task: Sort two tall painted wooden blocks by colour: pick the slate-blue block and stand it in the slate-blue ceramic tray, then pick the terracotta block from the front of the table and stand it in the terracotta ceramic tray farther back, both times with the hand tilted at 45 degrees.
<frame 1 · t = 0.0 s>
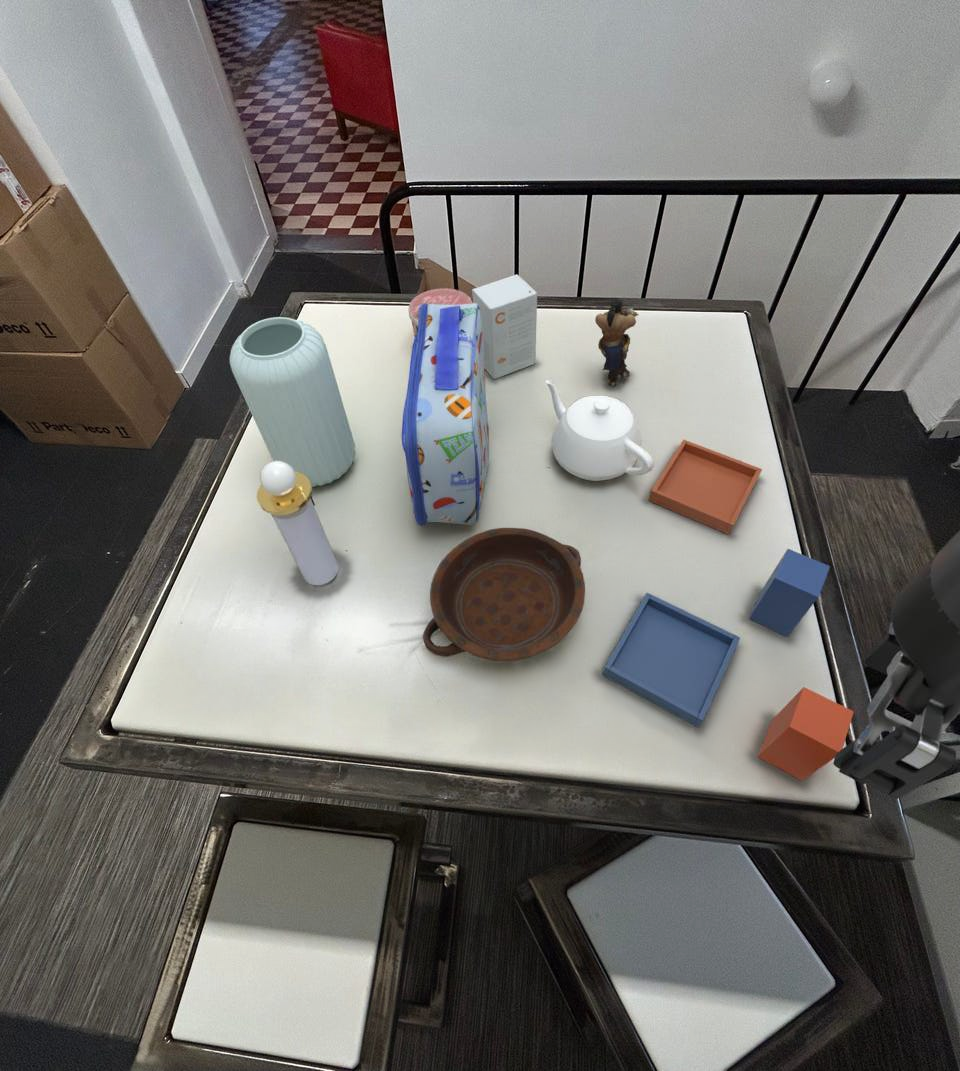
hand: (865, 715, 43), 22 cm above the table, tool pointing down, fingers open, 8 cm apart
small box: (505, 362, 102), on the table
vase: (320, 466, 90), on the table
figurine: (608, 382, 98), on the table
terracotta tray: (703, 489, 84), on the table
perfume bottle: (322, 574, 79), on the table
terracotta block: (786, 749, 63), on the table
lunch box: (453, 467, 89), on the table
container: (445, 348, 105), on the table
dish: (507, 610, 74), on the table
teapot: (591, 456, 89), on the table
blue block: (773, 613, 72), on the table
blue tray: (669, 660, 69), on the table
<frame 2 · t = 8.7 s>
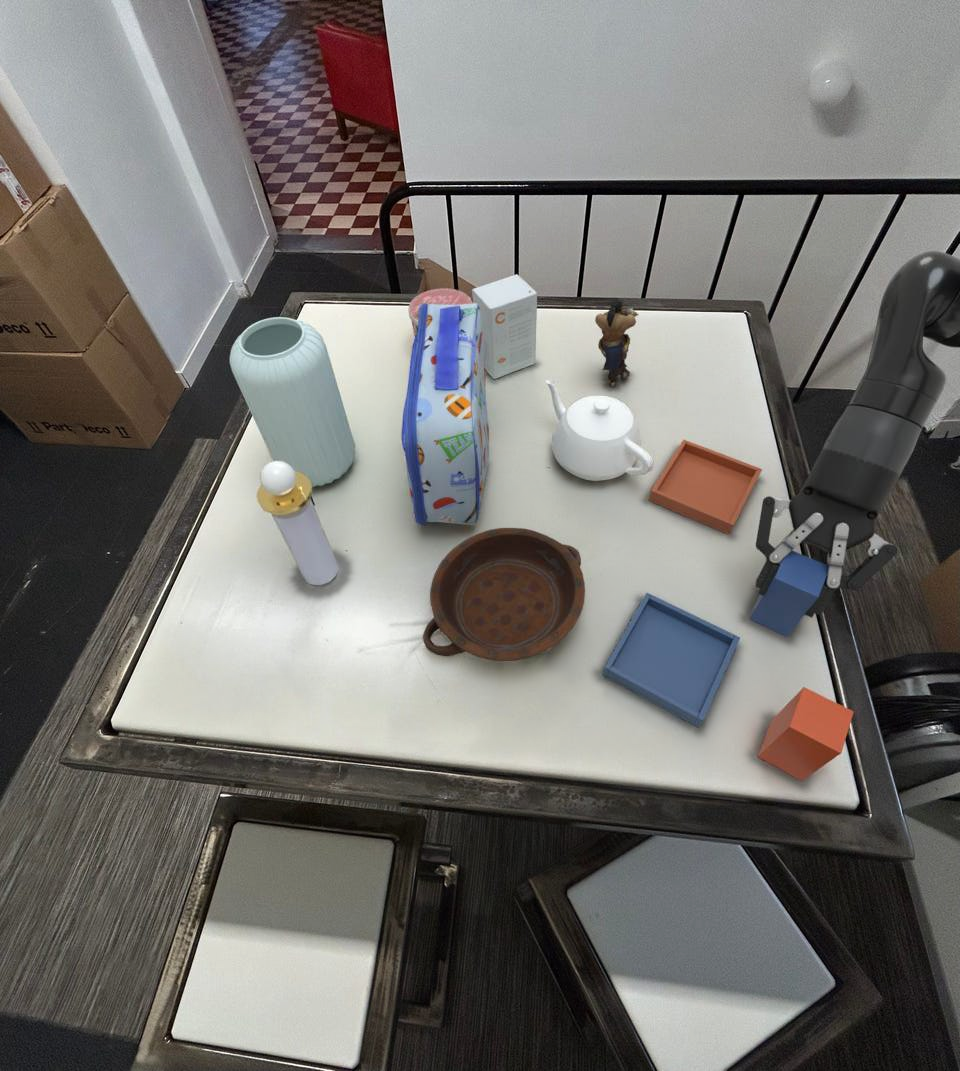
hand: (784, 603, 67), 5 cm above the table, tool tilted 45°, fingers closed on blue block, 4 cm apart
blue block: (773, 613, 72), on the table, touching gripper
everything else where it was.
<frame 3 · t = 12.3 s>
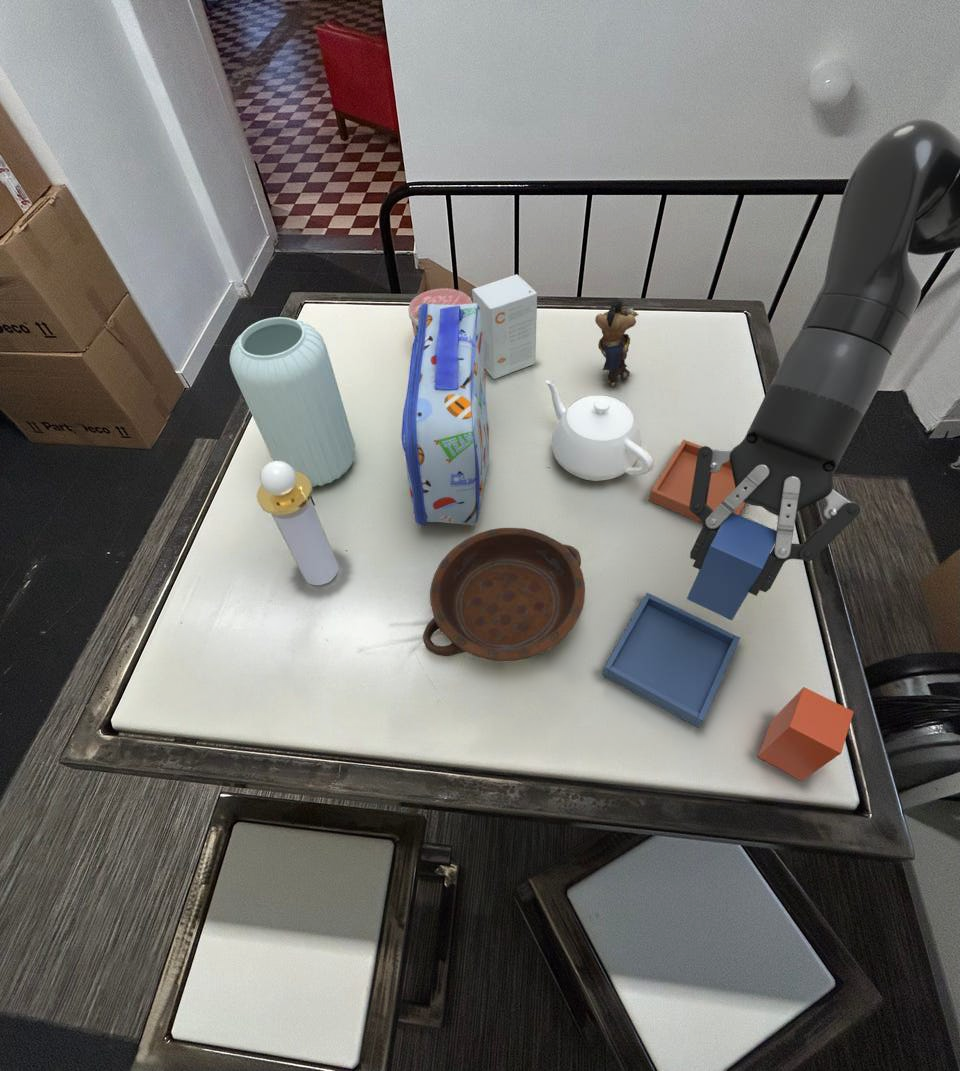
hand: (725, 579, 55), 18 cm above the table, tool tilted 45°, fingers closed on blue block, 4 cm apart
blue block: (717, 592, 60), point 13 cm above the table, touching gripper
everything else where it was.
when the fingers open (6 cm above the table, at t = 16.2 s): blue block stays where it is, resting on blue tray.
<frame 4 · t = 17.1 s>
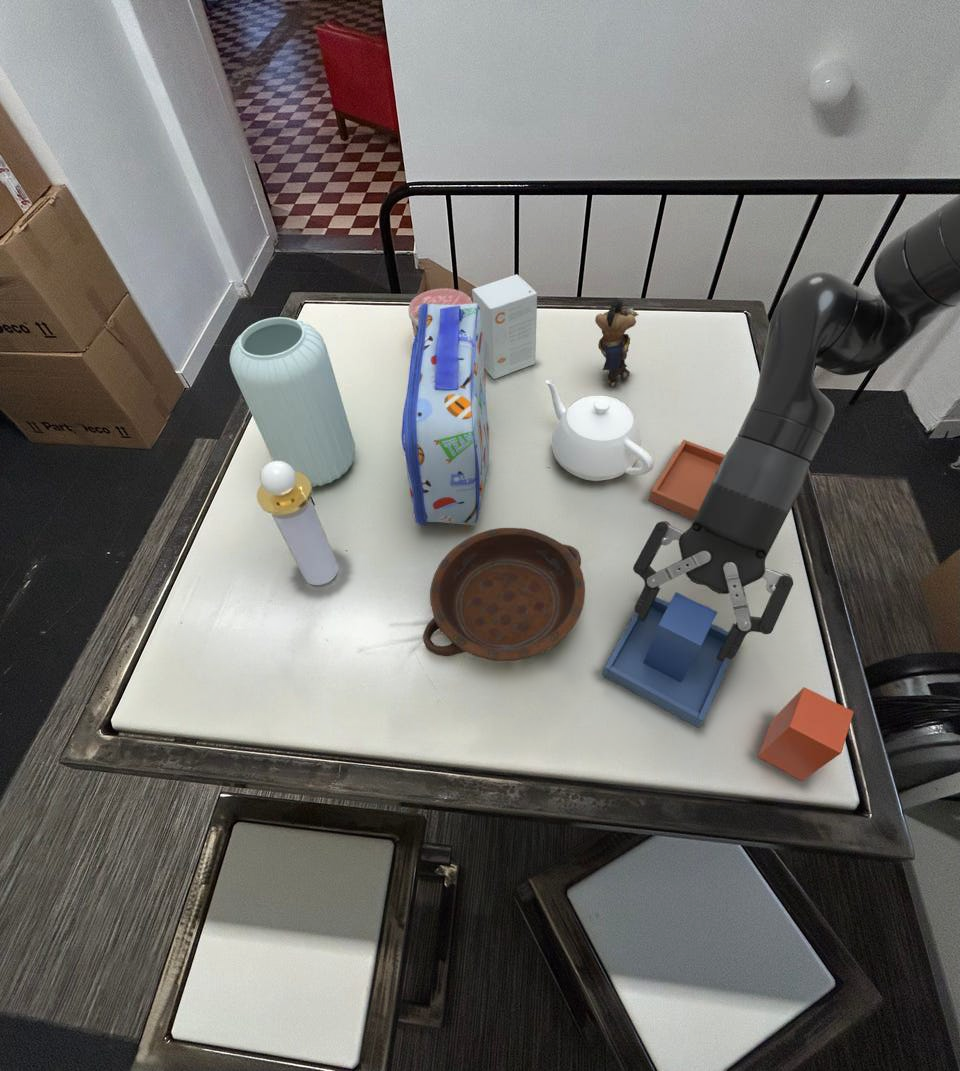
hand: (679, 638, 63), 7 cm above the table, tool tilted 45°, fingers open, 8 cm apart
blue block: (669, 656, 69), point 1 cm above the table, touching blue tray
everything else where it was.
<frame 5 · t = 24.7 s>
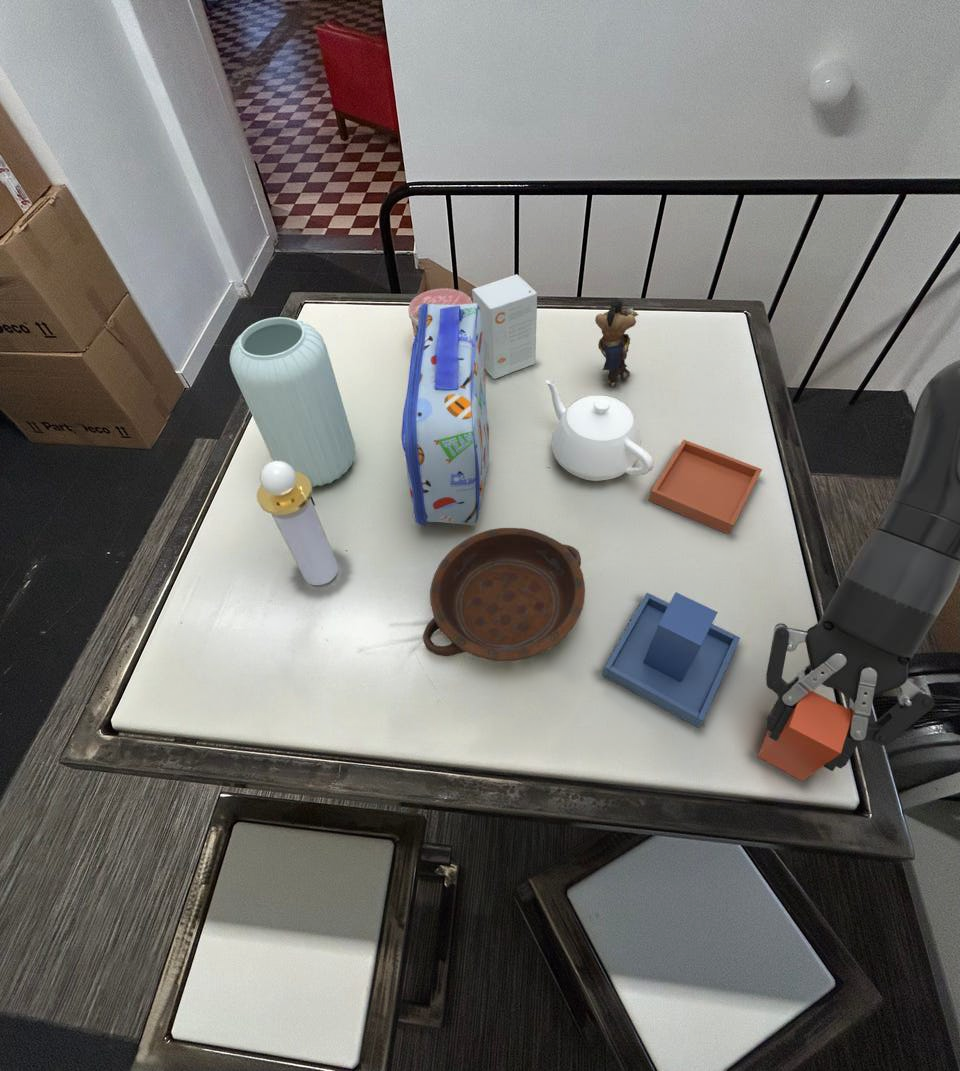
hand: (799, 750, 58), 5 cm above the table, tool tilted 45°, fingers closed on terracotta block, 4 cm apart
terracotta block: (786, 749, 63), on the table, touching gripper
everything else where it was.
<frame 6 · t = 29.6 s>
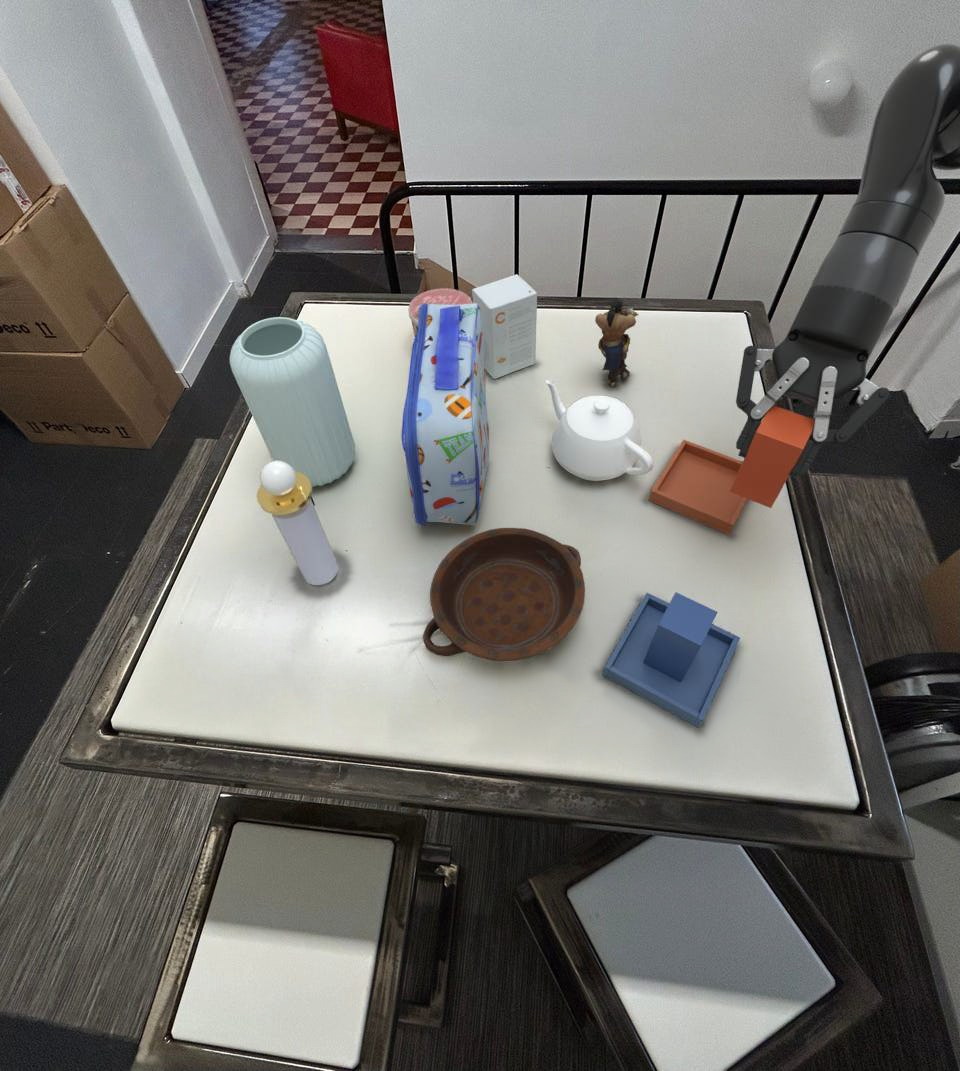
hand: (767, 465, 62), 18 cm above the table, tool tilted 45°, fingers closed on terracotta block, 4 cm apart
terracotta block: (756, 486, 67), point 13 cm above the table, touching gripper
everything else where it was.
when the fingers open (6 cm above the table, at t = 34.9 s): terracotta block stays where it is, resting on terracotta tray.
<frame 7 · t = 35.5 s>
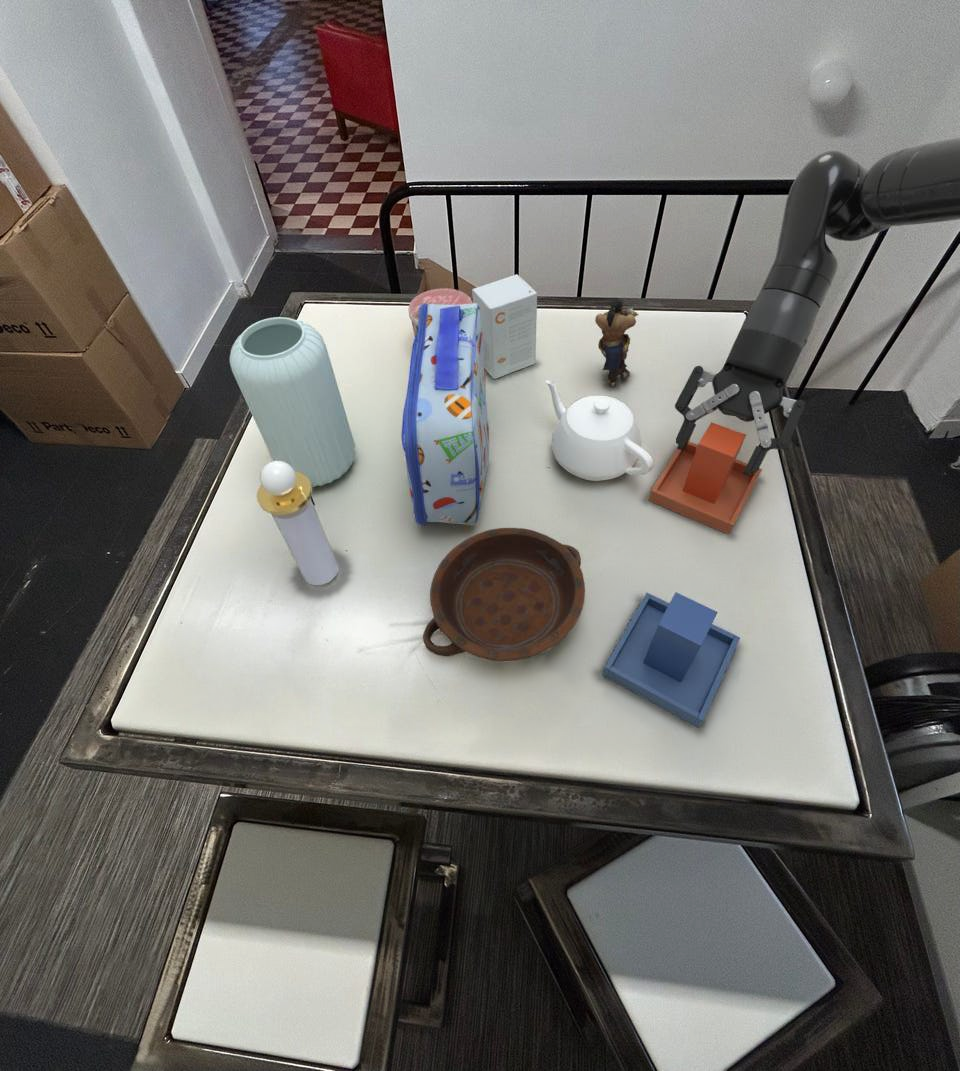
hand: (712, 462, 78), 7 cm above the table, tool tilted 45°, fingers open, 8 cm apart
terracotta block: (704, 486, 83), point 1 cm above the table, touching terracotta tray
everything else where it was.
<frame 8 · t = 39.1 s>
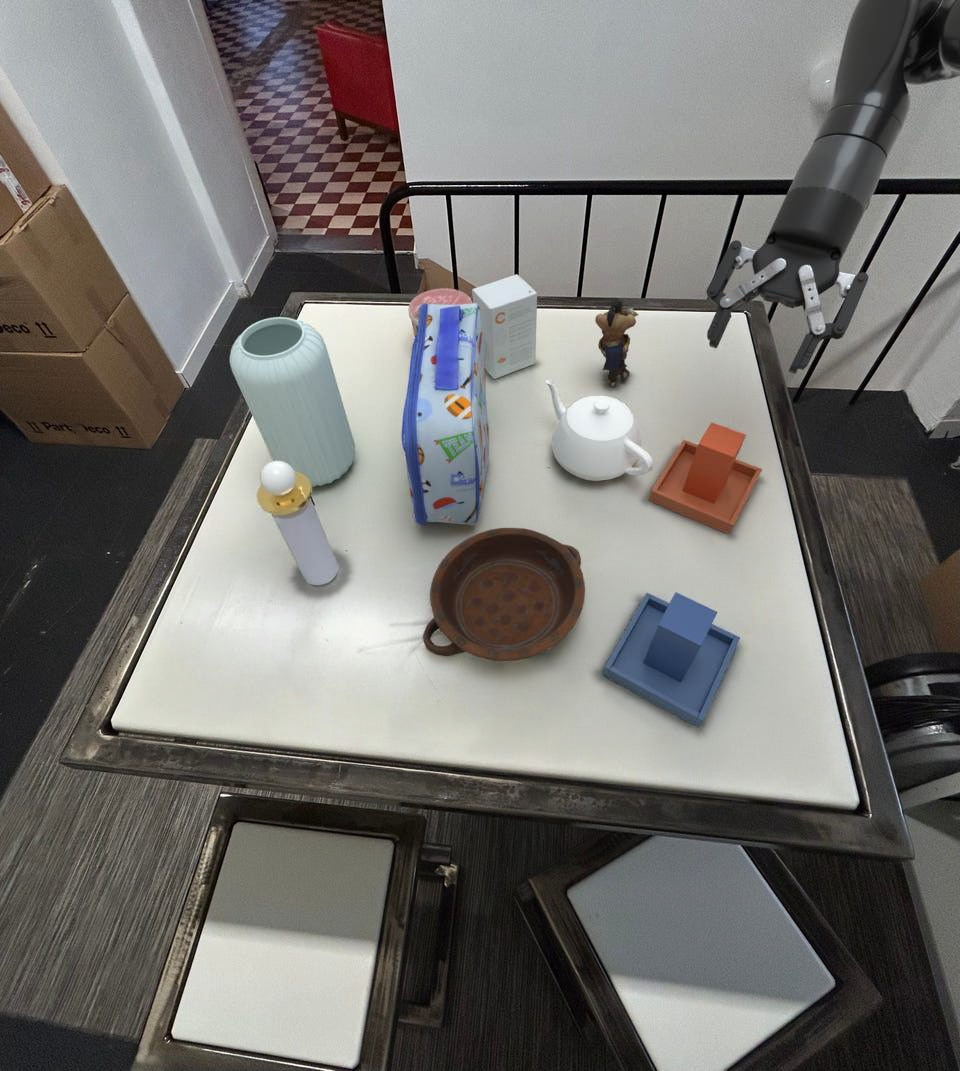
hand: (751, 358, 65), 23 cm above the table, tool tilted 45°, fingers open, 8 cm apart
nothing on the table moved.
at the end: blue block inside the target area in the blue tray (0.1 cm from its centre), point 0.6 cm above the blue tray's base; terracotta block inside the target area in the terracotta tray (0.1 cm from its centre), point 0.6 cm above the terracotta tray's base; terracotta block tilted 0° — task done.
